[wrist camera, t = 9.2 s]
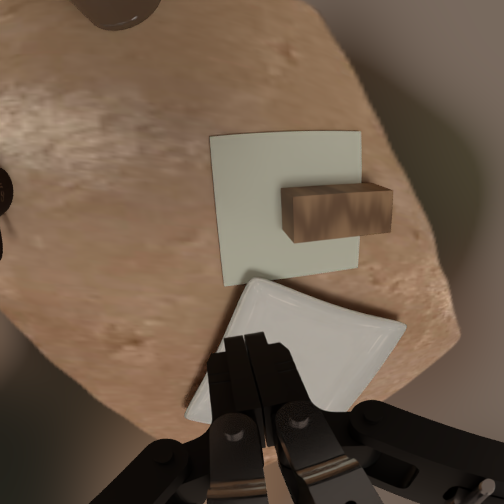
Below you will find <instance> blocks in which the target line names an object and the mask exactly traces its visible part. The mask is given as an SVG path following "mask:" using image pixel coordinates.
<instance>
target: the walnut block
mask: <svg viewBox="0 0 504 504" xmlns="http://www.w3.org/2000/svg"><path fill="white" fill-rule="evenodd" d="M392 205H393V190H390V189H388V188H385V187H382V186H379V185H376V184H374V183H356V184H336V185H319V186H304V187H290V188H281V208H282V230H283V231H284V232H285V233H286V235H287V236H288V237H289V238H290V239H291V241H292V242H293V243H294V244H295V243H304V242H312V241H321V240H330V239H338V238H347V237H355V236H364V235H373V234H381V233H390V232H391V221H392Z"/></svg>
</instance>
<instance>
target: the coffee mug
mask: <svg viewBox="0 0 504 504" xmlns="http://www.w3.org/2000/svg"><path fill="white" fill-rule="evenodd" d="M12 199H13V185H12V181H11V179H10V177H9V175H8V174H7V172H6V171H5V170H3V169H2V168H0V216H1V215H2V214H3V213H5V212H6V211H7V210H8V209H9V207H10V205H11V203H12ZM2 254H3V243H2V237H1V231H0V260H1V258H2Z"/></svg>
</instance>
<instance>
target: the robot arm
mask: <svg viewBox="0 0 504 504" xmlns="http://www.w3.org/2000/svg"><path fill="white" fill-rule="evenodd" d="M70 1H71V2H72V3H73V4H74V5H75V6H76V7H77V8H78V9H79V10H80V11H81V12H82V13H83V14H84V15H85V16H86V17H87V18H88V19H89V20H90V21H91V22H92V23H93V24H94V25H96V26H98V27H99V28H102V29H105V30H123V29H126V28H130V27H132V26H135V25H137V24H139V23H140V22H142V21H143V20H145V19H146V18H147V17H149V16H150V15H151V14H152V13H153V12H154V10H155V9H156V8H157V6H158V4H159V2H160V0H70ZM223 339H224V345H225V352H219V353H212V354H211V355H210V358H209V360H208V362H207V374H208V383H209V394H210V403H211V412H212V422H211V425H210V427H209V429H208V430H207V431H206V432H205V433H204V434H203V435H202V436H200V437H198V438H196V439H194V440H191V441H189V442H186V443H184V444H182V443H180V442H178V441H176V440H173V439H159V440H156V441H154V442H152V443H151V444H149V445H148V446H147V447H146V448H145V449H144V450H143V451H142V452H141V453H140V454H139V455H138V456H137V457H136V458H135V459H134V460H133V461H132V462H131V463H130V464H129V465H128V466H127V467H126V468H125V469H124V470H123V471H122V472H121V473H120V474H119V475H118V476H117V477H116V478H115V479H114V480H113V481H112V482H111V483H110V484H109V485H108V486H107V487H106V488H105V489H104V490H103V491H102V492H101V493H100V494H99V495H98V496H96V497H95V498H94V499H93V500H92V501H91V502H90V503H89V504H203V503H204V502H205V500H206V499H207V504H269V503H268V496H267V490H266V484H265V477H264V471H263V467H264V459H263V451H262V448H266V446H265V439H266V443H267V446H268V447H270V446H275V449H276V453H277V457H278V465H279V468H280V470H281V473H282V476H283V478H284V480H285V483H286V486H287V488H288V491H289V493H290V495H291V498H292V500H293V502H294V504H384V503H383V502H382V500H381V498H380V497H379V495H378V493H377V492H376V490H375V488H374V487H373V485H374V486H377V487H379V488H382V489H384V490H386V491H389V492H391V493H394V494H396V495H399V496H401V497H404V498H407V499H409V500H412V501H415V502H417V503H420V504H504V443H503V442H499V441H496V440H492V439H489V438H485V437H482V436H479V435H475V434H472V433H469V432H466V431H463V430H459V429H456V428H453V427H450V426H447V425H444V424H441V423H438V422H435V421H433V420H429V419H427V418H424V417H421V416H418V415H416V414H413V413H410V412H408V411H405V410H402V409H399V408H397V407H394V406H392V405H389V404H386V403H384V402H381V401H377V400H367V401H363V402H361V403H359V404H357V405H356V406H355V407H354V408H353V409H352V411H351V412H330V411H325V410H322V409H320V408H318V407H317V406H316V405H314V404H313V403H312V401H311V400H310V398H309V396H308V393H307V391H306V389H305V386H304V384H303V382H302V379H301V377H300V374H299V372H298V370H297V367H296V365H295V363H294V361H293V358H292V356H291V353H290V351H289V349H288V348H286V347H285V346H284V345H283V344H282V343H280V342H277V343H272V344H268V342H267V340H266V337H265V334H264V332H263V331H262V332H257V333H251V334H245V335H244V338H243V335H239V336H233V337H226V338H223ZM244 341H245V342H244ZM264 435H265V436H264Z"/></svg>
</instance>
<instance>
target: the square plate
mask: <svg viewBox="0 0 504 504" xmlns="http://www.w3.org/2000/svg"><path fill="white" fill-rule="evenodd" d="M406 328H407V325H406V324H404V323H402V322H399V321H395V320H391V319H386V318H382V317H377V316H373V315H369V314H365V313H361V312H357V311H353V310H350V309H346V308H343V307H340V306H337V305H334V304H331V303H328V302H325V301H322V300H320V299H317V298H314V297H312V296H309V295H306V294H304V293H301V292H298V291H296V290H293V289H291V288H288V287H286V286H283V285H281V284H278V283H275V282H272V281H270V280H267V279H263V278H258V277H254V278H252V279H250V280H249V281H248V283H247V285H246V287H245V288H244V291H243V293H242V295H241V297H240V299H239V301H238V303H237V306H236V308H235V311H234V313H233V315H232V318H231V320H230V322H229V325H228V327H227V330H226V332H225V334H224V336H223V338H226V337H233V336H239V335H243V338H244V335H245V334H251V333H257V332H262V331H263V332H264V334H265V337H266V340H267V342H268V344H272V343H277V342H280V343H282V344H283V345H284V346H285V347H286V348H288V349H289V351H290V353H291V356H292V358H293V361H294V363H295V365H296V367H297V370H298V372H299V374H300V377H301V379H302V382H303V384H304V386H305V389H306V391H307V393H308V396H309V398H310V400H311V401H312V403H313V404H314V405H316V406H317V407H318V408H320V409H322V410H325V411H330V412H346V411H347V410H348V409H349V408H350V407H351V405H352V404H353V403H354V402H355V401H356V399H357V398H358V397H359V396H360V394H361V393H362V392H363V390H364V389H365V388H366V387H367V385H368V384H369V383H370V381H371V380H372V379H373V377H374V376H375V375H376V373H377V372H378V371H379V369H380V368H381V366H382V365H383V363H384V362H385V361H386V359H387V358H388V356H389V355H390V353H391V352H392V350H393V349H394V347H395V346H396V344H397V343H398V341H399V340H400V338H401V337H402V335H403V333H404V332H405V330H406ZM244 342H245V341H244ZM219 352H225V345H224V339H222V341H221V343H220V346H219V348H218V350H217V352H216V353H219ZM184 416H185V418H186V419H189V420H192V421H197V422H202V423H207V424H211V422H212V412H211V403H210V394H209V383H208V374H207V373H206V375H205V377H204V378H203V380H202V382H201V384H200V386H199V388H198V389H197V391H196V393H195V395H194V397H193V398H192V400H191V402H190V404H189V406H188V408H187V410H186V412H185V415H184Z"/></svg>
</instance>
